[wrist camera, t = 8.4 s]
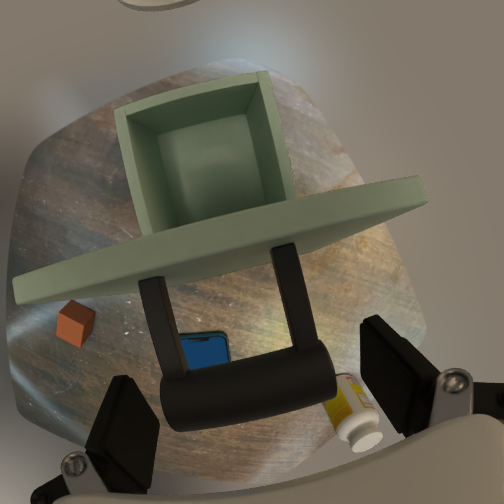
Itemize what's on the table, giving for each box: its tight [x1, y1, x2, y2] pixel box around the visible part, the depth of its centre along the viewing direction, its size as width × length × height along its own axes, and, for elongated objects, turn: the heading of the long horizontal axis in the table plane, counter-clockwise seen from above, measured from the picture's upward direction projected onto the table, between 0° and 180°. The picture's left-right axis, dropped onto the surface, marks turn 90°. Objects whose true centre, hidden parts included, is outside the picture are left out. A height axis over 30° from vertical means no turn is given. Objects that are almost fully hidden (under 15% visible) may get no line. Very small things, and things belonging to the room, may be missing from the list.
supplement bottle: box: [322, 375, 382, 452], centre depth 35 cm, size 7×7×13 cm
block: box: [56, 300, 95, 348], centre depth 31 cm, size 4×4×4 cm
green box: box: [114, 71, 298, 236], centre depth 25 cm, size 14×12×12 cm
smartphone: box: [179, 332, 231, 370], centre depth 37 cm, size 7×1×15 cm
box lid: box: [12, 175, 428, 432], centre depth 13 cm, size 15×12×6 cm
